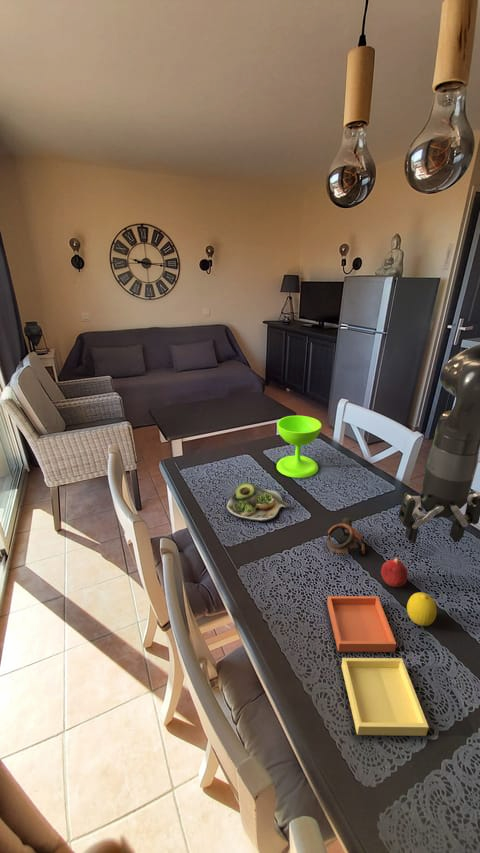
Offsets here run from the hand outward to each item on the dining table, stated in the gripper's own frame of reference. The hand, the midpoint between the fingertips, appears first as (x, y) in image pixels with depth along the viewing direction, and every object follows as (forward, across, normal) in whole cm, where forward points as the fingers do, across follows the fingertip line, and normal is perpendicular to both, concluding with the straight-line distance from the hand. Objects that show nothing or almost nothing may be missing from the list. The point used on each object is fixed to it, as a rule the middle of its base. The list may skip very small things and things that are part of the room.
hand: (432, 539), depth 71 cm
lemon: (+21, 0, -2) cm, 21 cm away
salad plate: (+21, -33, +41) cm, 57 cm away
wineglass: (+21, -15, +65) cm, 70 cm away
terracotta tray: (+21, -13, -3) cm, 25 cm away
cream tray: (+21, -14, -17) cm, 30 cm away
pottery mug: (+21, -9, +21) cm, 31 cm away
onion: (+21, -2, +8) cm, 23 cm away
